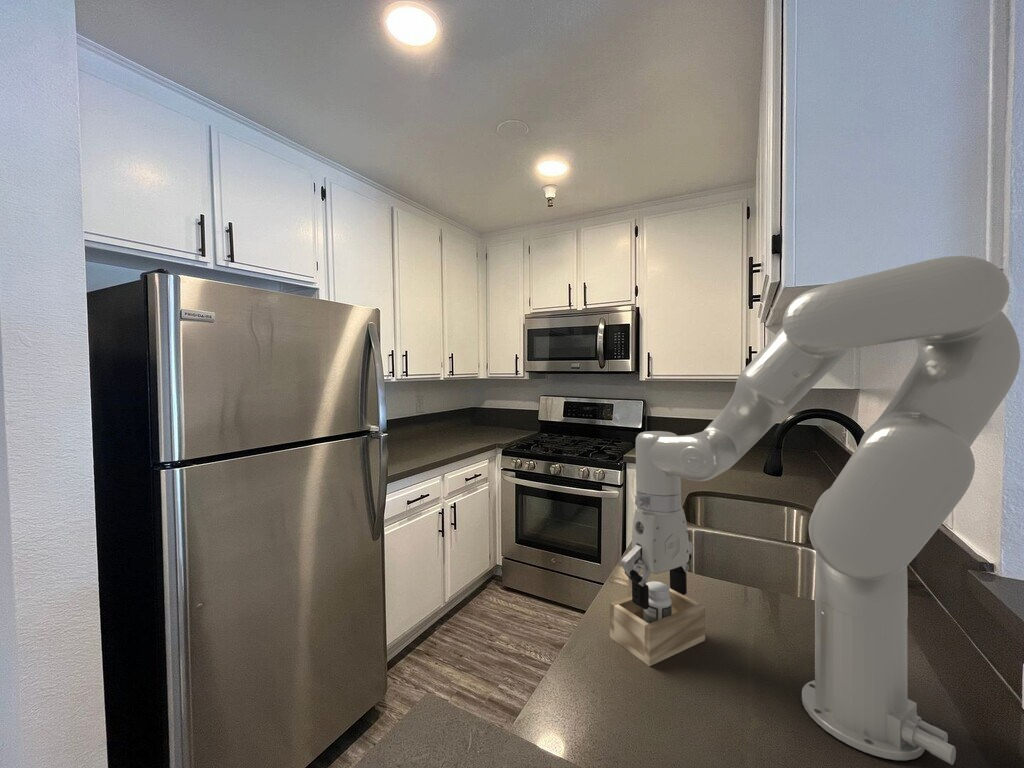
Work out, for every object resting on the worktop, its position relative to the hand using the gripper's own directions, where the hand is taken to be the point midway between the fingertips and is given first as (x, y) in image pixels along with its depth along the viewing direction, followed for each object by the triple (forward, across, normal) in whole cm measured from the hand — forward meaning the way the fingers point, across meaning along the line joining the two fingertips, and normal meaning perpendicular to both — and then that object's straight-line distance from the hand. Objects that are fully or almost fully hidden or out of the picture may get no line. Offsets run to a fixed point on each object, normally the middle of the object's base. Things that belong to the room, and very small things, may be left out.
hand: (659, 598), depth 74 cm
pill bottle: (+6, 0, 0) cm, 6 cm away
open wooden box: (+7, 0, +1) cm, 7 cm away
